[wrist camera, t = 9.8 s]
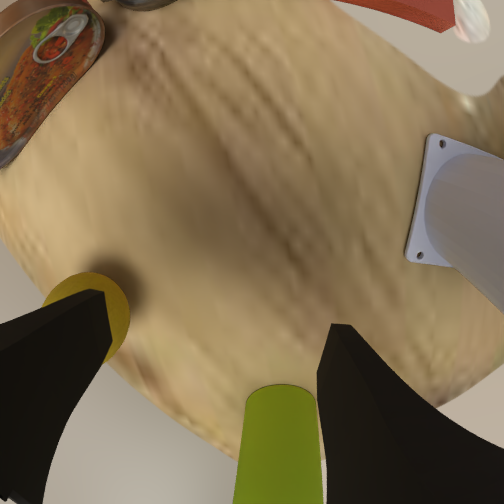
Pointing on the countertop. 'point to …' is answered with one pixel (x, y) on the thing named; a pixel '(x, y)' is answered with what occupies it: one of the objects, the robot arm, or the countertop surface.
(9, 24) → the tin
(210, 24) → the countertop surface
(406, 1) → the ratchet
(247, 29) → the countertop surface
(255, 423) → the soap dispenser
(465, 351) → the countertop surface
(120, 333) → the lemon
